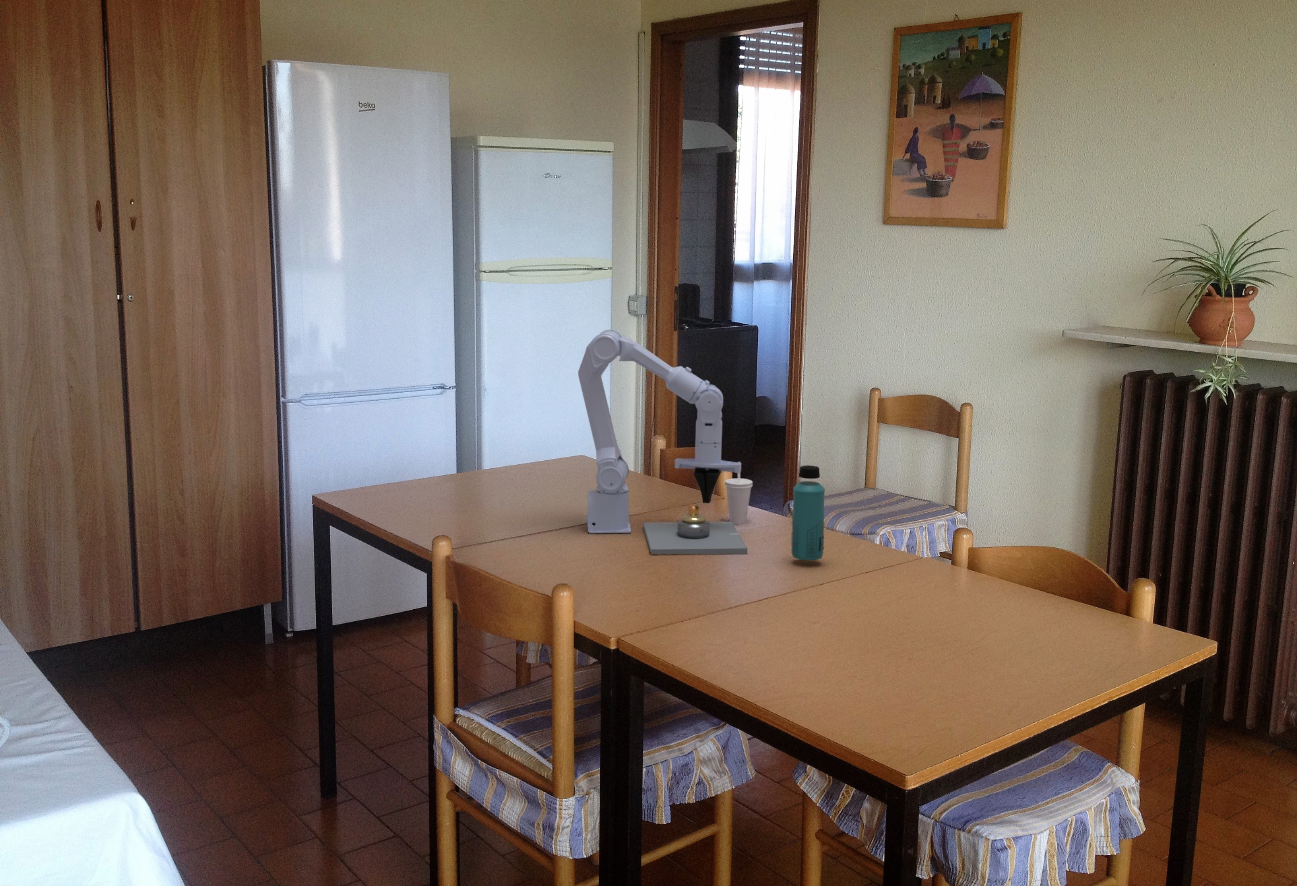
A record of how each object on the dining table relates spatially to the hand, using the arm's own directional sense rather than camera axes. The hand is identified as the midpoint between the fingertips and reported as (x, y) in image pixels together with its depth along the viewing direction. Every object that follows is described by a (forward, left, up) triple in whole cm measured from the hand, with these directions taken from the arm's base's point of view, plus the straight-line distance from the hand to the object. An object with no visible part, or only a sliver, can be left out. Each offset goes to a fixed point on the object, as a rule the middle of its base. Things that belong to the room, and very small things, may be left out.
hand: (706, 502), depth 256 cm
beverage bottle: (+17, -25, -7) cm, 31 cm away
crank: (-3, -4, -5) cm, 7 cm away
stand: (-4, -7, -7) cm, 10 cm away
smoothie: (+8, +8, -7) cm, 14 cm away
